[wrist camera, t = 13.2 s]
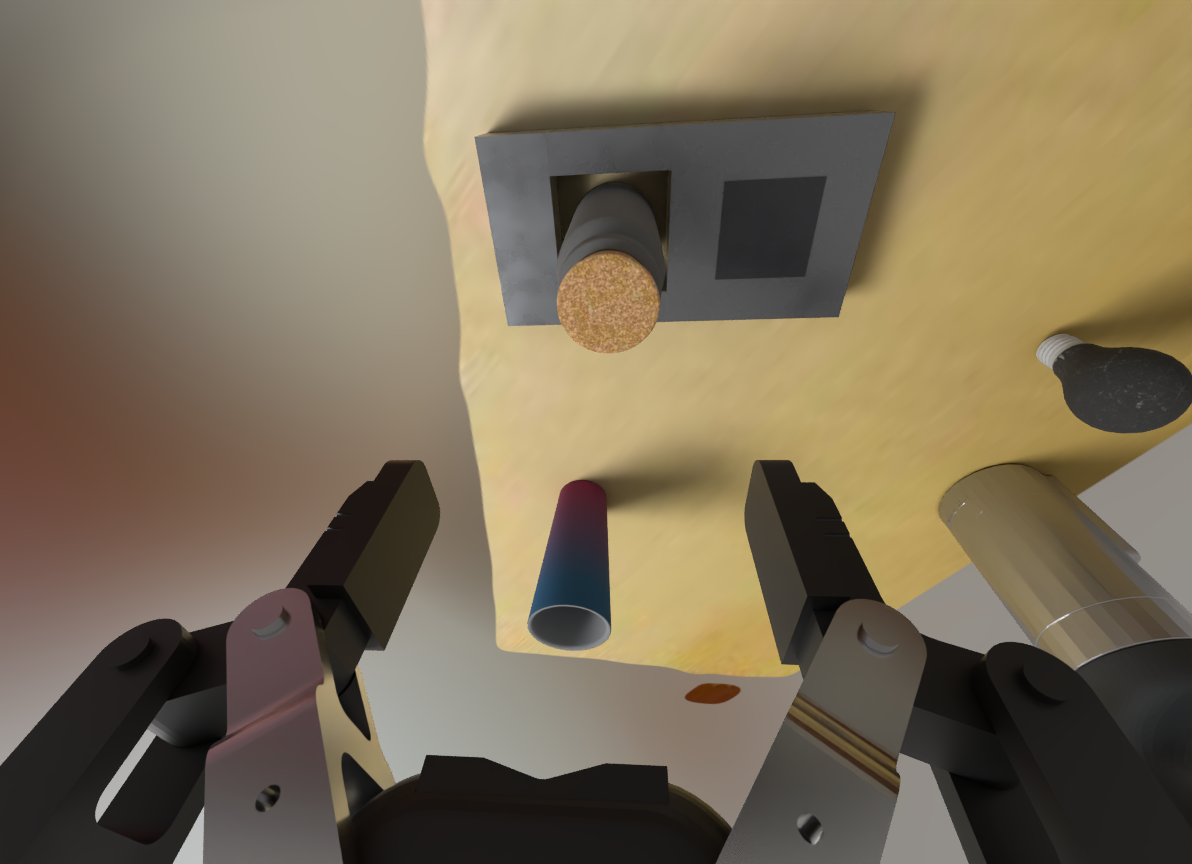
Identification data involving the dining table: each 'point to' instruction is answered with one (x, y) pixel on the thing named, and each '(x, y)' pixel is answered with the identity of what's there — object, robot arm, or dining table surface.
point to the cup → (574, 573)
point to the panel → (699, 209)
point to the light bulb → (1118, 384)
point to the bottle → (610, 270)
